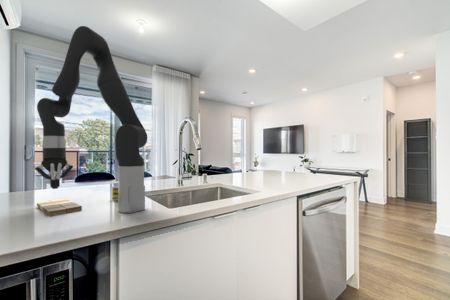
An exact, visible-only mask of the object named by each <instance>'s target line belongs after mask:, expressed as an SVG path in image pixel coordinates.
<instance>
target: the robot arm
mask: <svg viewBox="0 0 450 300" xmlns="http://www.w3.org/2000/svg"><path fill="white" fill-rule="evenodd" d="M85 54H87V55H89V56H90V57H92V59H93V61H94V62H95V65H96V67H97V71H98V73H97V76H96V77H97V78H96V85H97V88H98V90H99V92H100V96H101V97H102V99H103V101H104V103H105V104H106V105H107V107H108V108H109V109H110V110H111V112H113V114H114V115H115V116H116V117H117V118H118V120H119V122H120V124H121V125H120V126H119V127H118V128H117V130H116V132H115V139H114V141H115V143H114V144H115V159H116V160H117V164H118V166H117V167H118V168H117V169H118V172H117V175H118V176H117V177H118V178H117V180H118V200H117V201H118V202H117V203H118V205H117V209H118V210H117V211H118V212H119V213H124V214H133V213H136V212H140V211H145V210H146V186H145V159H144V158H143V157H142V156H141V153H140V149H141V148H143V147H145V146H146V144H147V142H148V132H147V131H146V129H145V127H144V126H143V124H142V122H141V121H140V119H139V117H138V115H137V113H136V111H135V109H134V106H133V103H132V101H131V99H130V97H129V95H128V92H127V90H126V87H125V86H124V85H125V84H124V83H123V81H122V78H121V77H120V75H119V72H118V70H117V68H116V66H115V63H114V60H113V57H112V53H111V50H110V46H109V44H108V42H107V40H106V39H105V38H104V37H103V36H102V35H100V34H99V33H97V32H96V31H95V30H93V29H92V28H90V27H88V26H86V25H80V26H78V27H76V29H75V30H74V32H73V34H72V36H71V39H70V42H69V44H68V48H67V52H66V54H65V58H64V62H63V65H62V68H61V70H60V73H59V74H58V77H57V79H55V82H54V84H53V86H52V88H51V91H52V93H53V94H54V95H55V96H57V97H58V99H53V98H49V97H48V98H47V97H43V98H40V99H39V100H38V102H37V104H36V109H37V114H38V116H39V118H40V122H41V124H42V144H41V148H42V161H41V162H40V165H38V166H36V167H34V170H35V171H36V172H37V173H38V174H39V175H41V176H42V178H44V179H48V180H49V187H50V188H52V189H53V190H56V189H59V187H60V184H61V183H60V180H61V179H64V178H65V177H66V176H67V175H68V174H69V173H70V172H71V170H72V169H73V168H74V166H73V165H71V164H69V163H68V161H67V150H66V149H67V147H66V145H67V144H66V135H65V134H66V133H65V132H66V127H65V124H64V123H62V122H60V121H57V119H56V118H64V117H67V116H68V114H69V113H70V111H71V107H72V100H73V97H74V94H75V93H76V92H77V89H78V87H79V86H80V81H81V71H80V70H81V69H80V68H81V61H82V58H83V56H84V55H85ZM64 168H65V169H64ZM63 169H64V170H63ZM44 170H46V171H47V172H48V174H47V173H46V172H45V171H44ZM62 170H63V171H62Z"/></svg>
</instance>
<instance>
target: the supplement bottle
mask: <svg viewBox="0 0 450 300" xmlns="http://www.w3.org/2000/svg"><path fill="white" fill-rule="evenodd" d="M112 183H113V184H112V185H113V186H112V188H111V191H112V192H111V193H112V194H111V200H112V201H115V202H116V201H118V181H113V182H112Z"/></svg>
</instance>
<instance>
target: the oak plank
mask: <svg viewBox="0 0 450 300" xmlns="http://www.w3.org/2000/svg"><path fill="white" fill-rule="evenodd" d="M71 202H72V201H71V200H69V199H67V198H59V199H53V200H46V201H40V202H39V201H38V202H36V207H37V208H38V209H40V210H41V211H42V212H43V207H47V206H53V205H59V204H65V203H71Z"/></svg>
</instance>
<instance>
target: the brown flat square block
mask: <svg viewBox="0 0 450 300" xmlns="http://www.w3.org/2000/svg"><path fill="white" fill-rule="evenodd" d="M82 209H83V207H82V205H80V204H78V203H76V202H73V201H71V203H65V204H59V205H53V206H47V207H43V211H42V212H43V213H44V214H46V215H47V216H49V217H54V216H58V215H59V216H60V215H65V214H69V213H74V212H79V211H82Z"/></svg>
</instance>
